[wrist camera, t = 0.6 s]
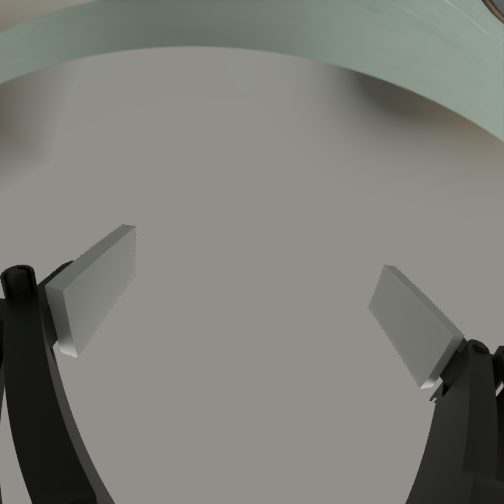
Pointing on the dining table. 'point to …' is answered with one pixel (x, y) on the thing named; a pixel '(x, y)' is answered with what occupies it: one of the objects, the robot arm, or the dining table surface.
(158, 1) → the dining table surface
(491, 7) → the turntable base
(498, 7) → the turntable
